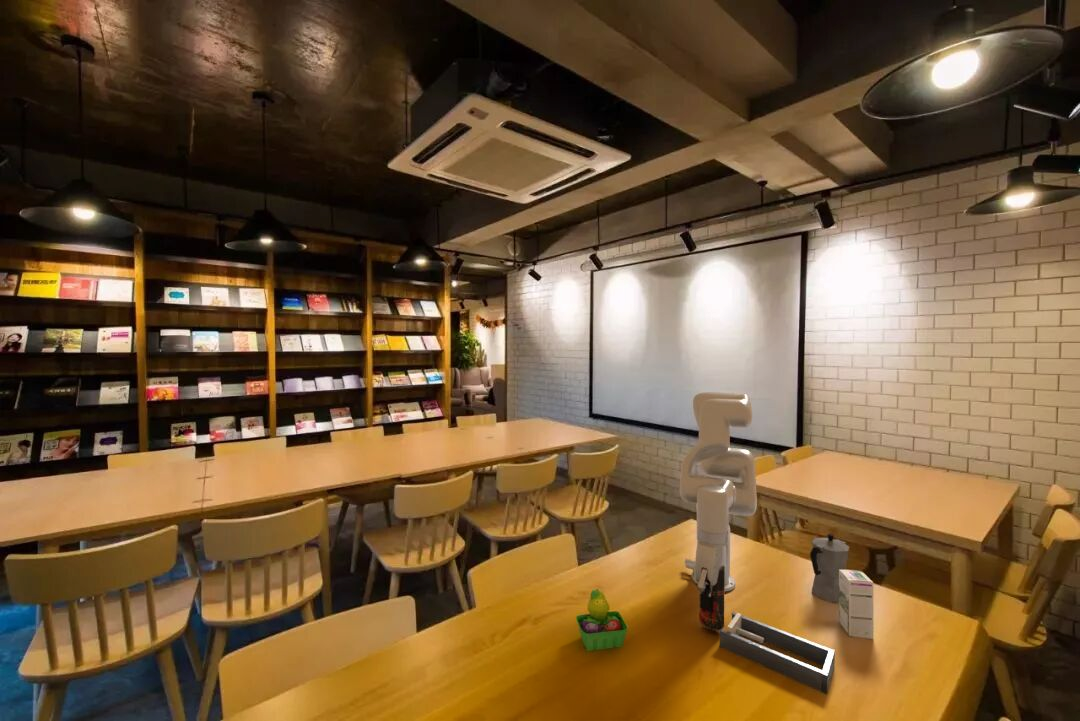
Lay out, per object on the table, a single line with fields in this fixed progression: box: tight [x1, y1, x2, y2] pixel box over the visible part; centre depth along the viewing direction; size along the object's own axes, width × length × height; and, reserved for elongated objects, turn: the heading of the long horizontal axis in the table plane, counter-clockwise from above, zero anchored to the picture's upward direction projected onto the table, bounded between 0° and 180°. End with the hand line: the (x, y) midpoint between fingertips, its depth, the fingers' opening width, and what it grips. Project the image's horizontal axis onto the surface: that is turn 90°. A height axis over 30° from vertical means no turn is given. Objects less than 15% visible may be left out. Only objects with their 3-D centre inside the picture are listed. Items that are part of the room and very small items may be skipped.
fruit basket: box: [575, 589, 629, 652], centre depth 108 cm, size 11×9×11 cm
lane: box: [719, 611, 836, 695], centre depth 102 cm, size 22×10×4 cm, turn 49°
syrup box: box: [838, 569, 875, 640], centre depth 111 cm, size 6×6×14 cm
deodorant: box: [698, 566, 725, 631], centre depth 112 cm, size 6×6×15 cm
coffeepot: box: [809, 533, 850, 604], centre depth 127 cm, size 15×9×18 cm, turn 116°
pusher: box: [726, 612, 765, 644], centre depth 106 cm, size 7×7×4 cm
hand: (711, 603), depth 112 cm, fingers closed on deodorant, 5 cm apart
